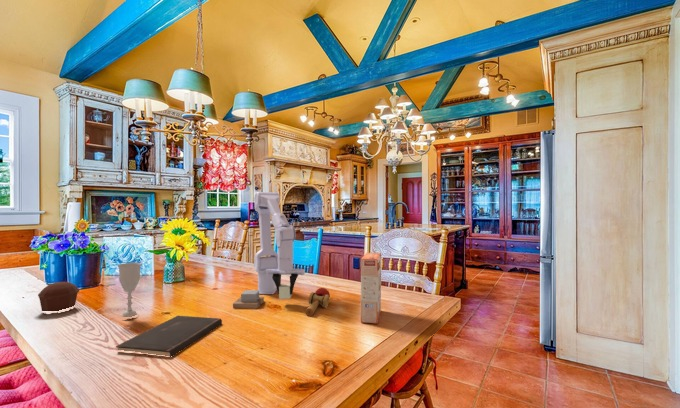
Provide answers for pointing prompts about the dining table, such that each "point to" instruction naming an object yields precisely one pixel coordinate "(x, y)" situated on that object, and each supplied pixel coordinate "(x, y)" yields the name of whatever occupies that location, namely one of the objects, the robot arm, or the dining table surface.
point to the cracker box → (370, 287)
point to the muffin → (58, 296)
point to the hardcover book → (171, 335)
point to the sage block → (284, 291)
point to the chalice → (129, 283)
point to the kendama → (317, 300)
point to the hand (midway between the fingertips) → (285, 293)
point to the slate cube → (250, 296)
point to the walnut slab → (248, 303)
